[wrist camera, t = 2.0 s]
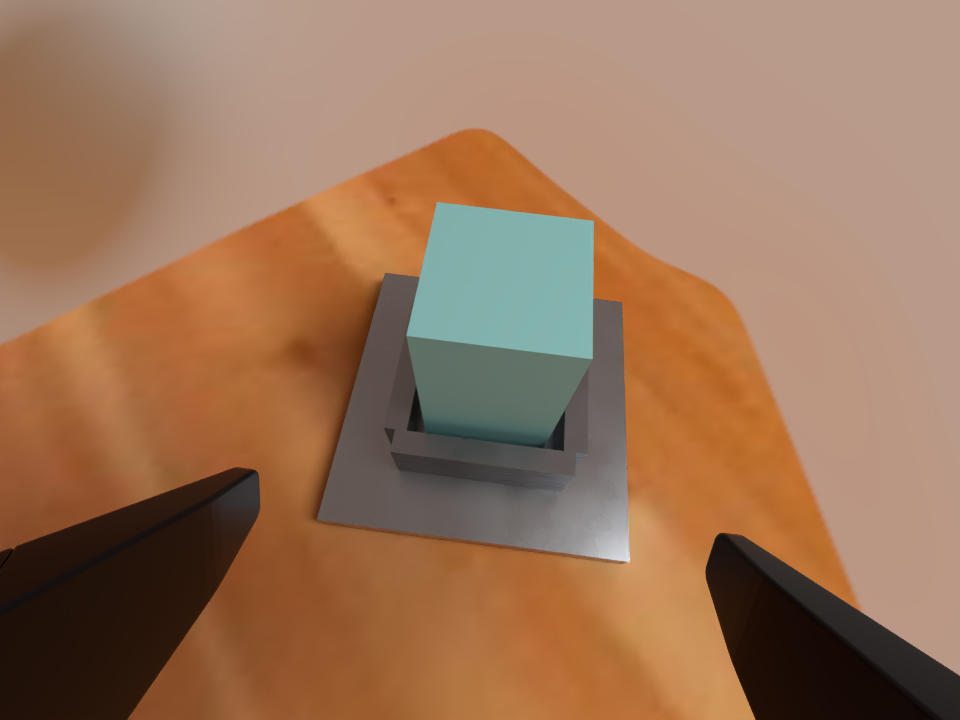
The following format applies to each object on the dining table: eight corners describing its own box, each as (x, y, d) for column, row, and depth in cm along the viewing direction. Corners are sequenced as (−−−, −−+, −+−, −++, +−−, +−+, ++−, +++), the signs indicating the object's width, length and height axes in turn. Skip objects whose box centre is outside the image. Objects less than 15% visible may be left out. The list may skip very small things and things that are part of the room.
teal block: (539, 455, 22) (592, 359, 13) (427, 440, 22) (406, 335, 13) (545, 356, 25) (593, 220, 16) (445, 343, 25) (437, 202, 16)
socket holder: (621, 563, 21) (655, 556, 17) (323, 523, 21) (295, 507, 18) (615, 313, 28) (640, 269, 24) (388, 285, 28) (376, 237, 24)
